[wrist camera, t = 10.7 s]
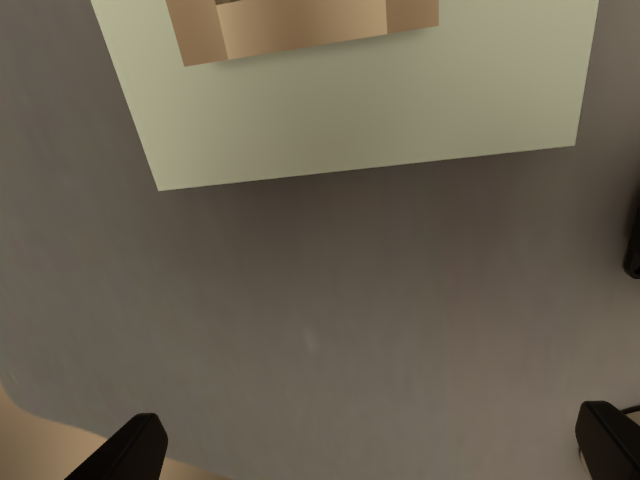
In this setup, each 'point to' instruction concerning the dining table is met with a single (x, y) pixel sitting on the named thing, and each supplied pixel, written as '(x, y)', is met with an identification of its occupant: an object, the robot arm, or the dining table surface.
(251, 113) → the pale green base plate
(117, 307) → the dining table surface
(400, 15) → the square wooden frame
